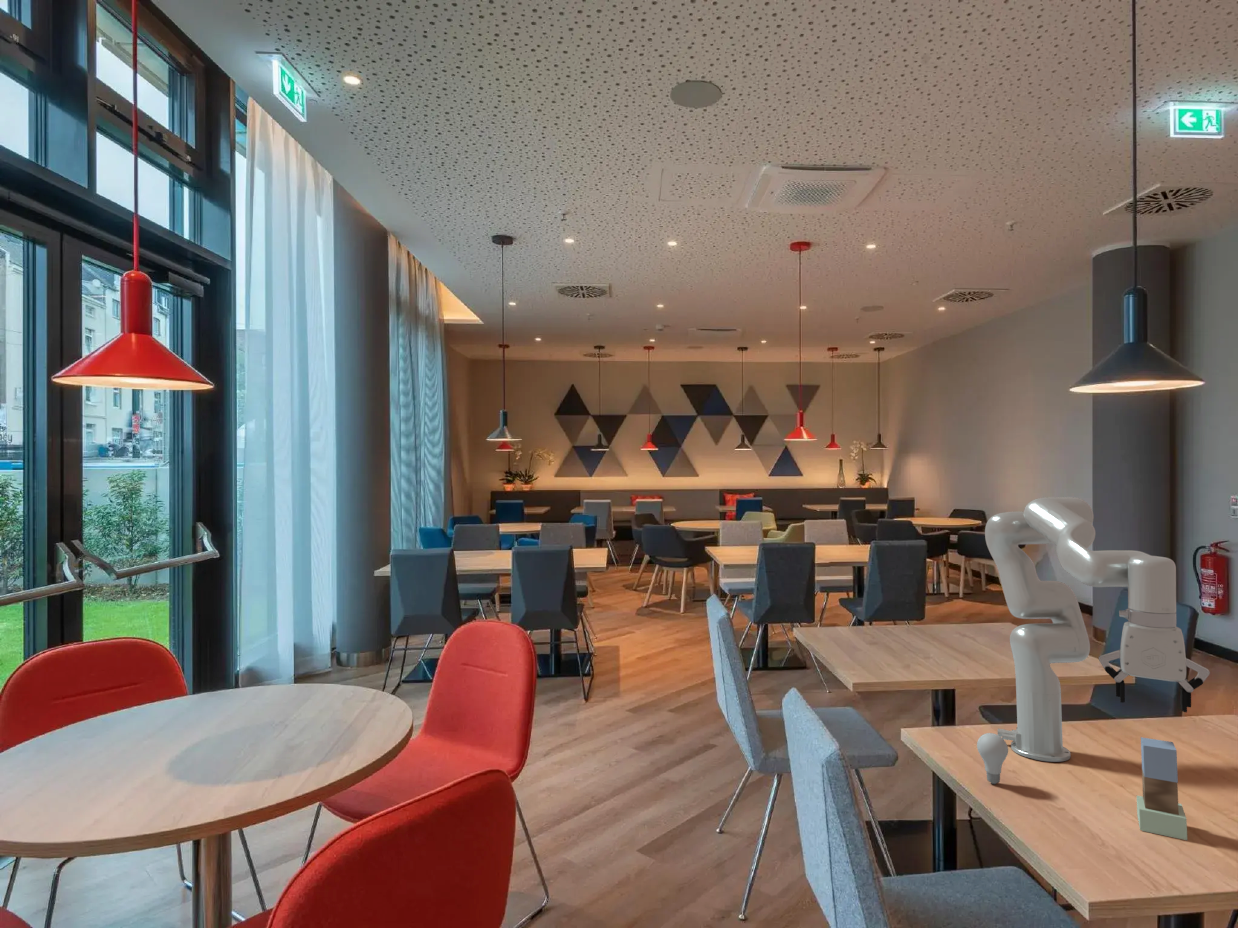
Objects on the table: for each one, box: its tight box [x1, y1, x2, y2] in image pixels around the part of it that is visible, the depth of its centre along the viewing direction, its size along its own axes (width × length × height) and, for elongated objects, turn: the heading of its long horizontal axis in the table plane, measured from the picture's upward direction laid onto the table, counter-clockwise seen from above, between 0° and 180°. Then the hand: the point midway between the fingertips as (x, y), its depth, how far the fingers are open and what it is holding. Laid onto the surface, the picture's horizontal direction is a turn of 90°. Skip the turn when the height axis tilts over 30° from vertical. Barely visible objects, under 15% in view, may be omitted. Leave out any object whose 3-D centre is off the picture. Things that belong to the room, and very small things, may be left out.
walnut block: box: [1141, 769, 1179, 815], centre depth 132 cm, size 5×5×6 cm
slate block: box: [1140, 736, 1179, 784], centre depth 132 cm, size 5×5×6 cm
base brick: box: [1136, 795, 1188, 841], centre depth 132 cm, size 7×7×4 cm
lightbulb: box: [976, 732, 1009, 785], centre depth 152 cm, size 6×6×11 cm
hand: (1152, 705), depth 135 cm, fingers open, 9 cm apart
